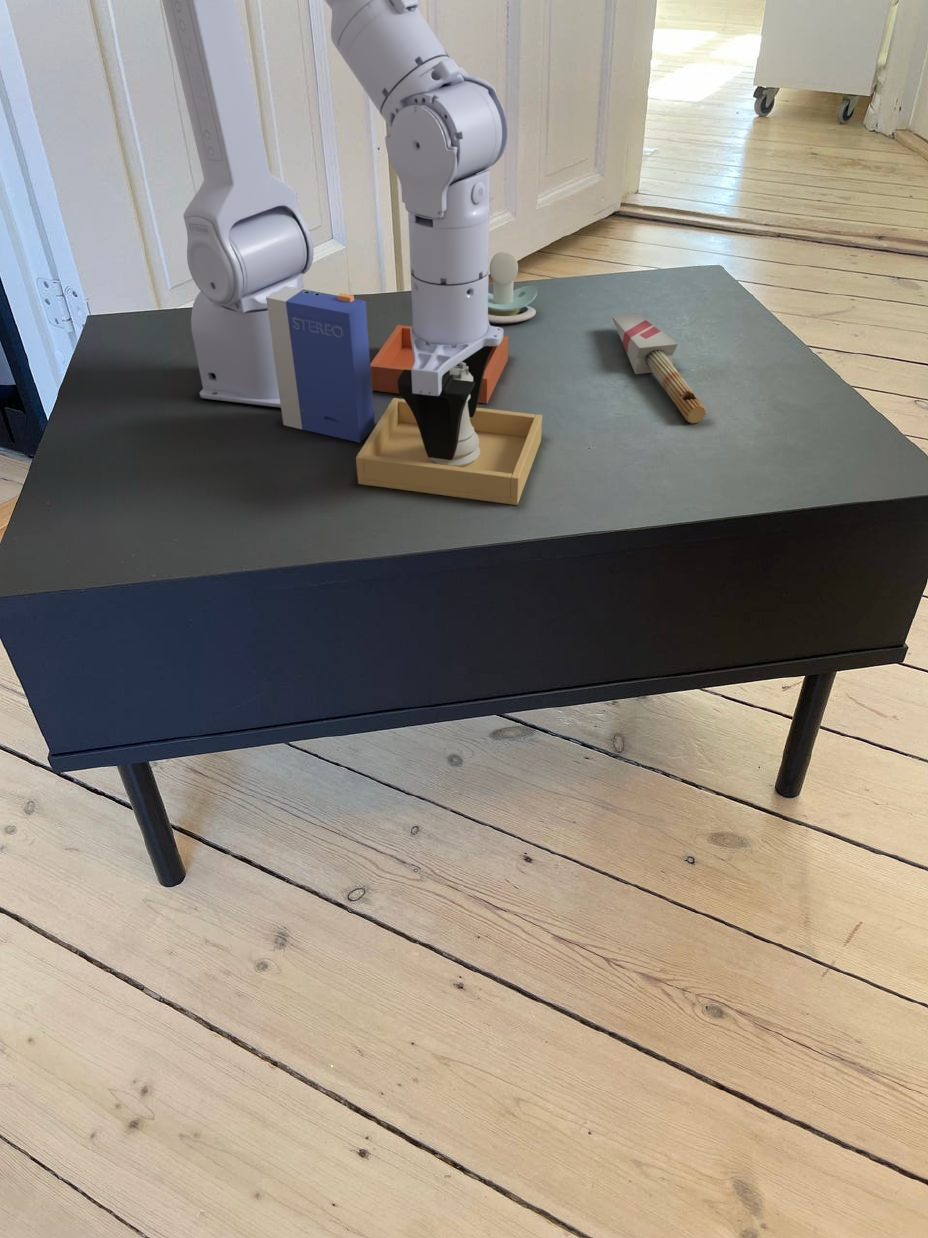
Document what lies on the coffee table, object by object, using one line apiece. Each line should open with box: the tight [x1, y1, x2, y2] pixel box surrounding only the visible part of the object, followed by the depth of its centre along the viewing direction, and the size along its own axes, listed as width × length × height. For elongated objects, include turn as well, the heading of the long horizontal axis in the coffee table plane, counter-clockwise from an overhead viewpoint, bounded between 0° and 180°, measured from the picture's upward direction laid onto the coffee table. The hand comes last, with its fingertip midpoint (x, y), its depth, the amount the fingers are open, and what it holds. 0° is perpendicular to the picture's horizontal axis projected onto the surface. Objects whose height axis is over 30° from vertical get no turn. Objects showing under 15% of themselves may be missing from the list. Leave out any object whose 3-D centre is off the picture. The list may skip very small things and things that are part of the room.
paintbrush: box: [611, 312, 707, 424], centre depth 92 cm, size 4×3×20 cm
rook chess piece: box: [430, 362, 480, 467], centre depth 78 cm, size 4×4×8 cm
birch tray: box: [355, 397, 543, 506], centre depth 80 cm, size 13×10×2 cm
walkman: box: [266, 286, 376, 444], centre depth 82 cm, size 8×3×12 cm, turn 65°
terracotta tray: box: [370, 324, 509, 405], centre depth 92 cm, size 11×9×2 cm
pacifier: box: [488, 250, 538, 324], centre depth 102 cm, size 7×6×6 cm
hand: (451, 434), depth 80 cm, fingers open, 6 cm apart
